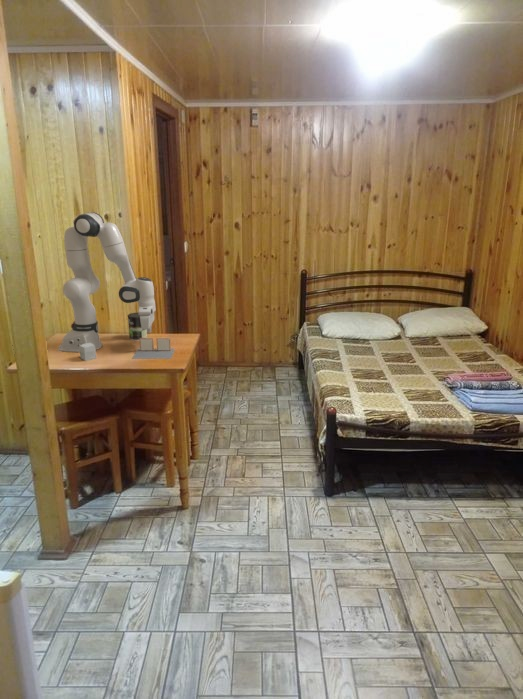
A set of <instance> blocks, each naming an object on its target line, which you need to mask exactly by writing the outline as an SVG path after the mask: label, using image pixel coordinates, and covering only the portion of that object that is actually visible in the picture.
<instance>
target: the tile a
mask: <svg viewBox="0 0 523 699" xmlns="http://www.w3.org/2000/svg"><path fill="white" fill-rule="evenodd" d="M139 339H140V340H139V349H140V351H154V349H155V344H154V342H155V341H154V337H147V338H139Z"/></svg>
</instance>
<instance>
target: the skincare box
mask: <svg viewBox="0 0 523 699" xmlns="http://www.w3.org/2000/svg"><path fill="white" fill-rule="evenodd" d="M79 350H80V352H79V357H80V359H81V360H83V361H85V362H86V361H87V362H88V361H92V360H95V359H97V352H96V350H97V349H96V350H95V345H93V344H91V343H85V344H81V345H79Z"/></svg>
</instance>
